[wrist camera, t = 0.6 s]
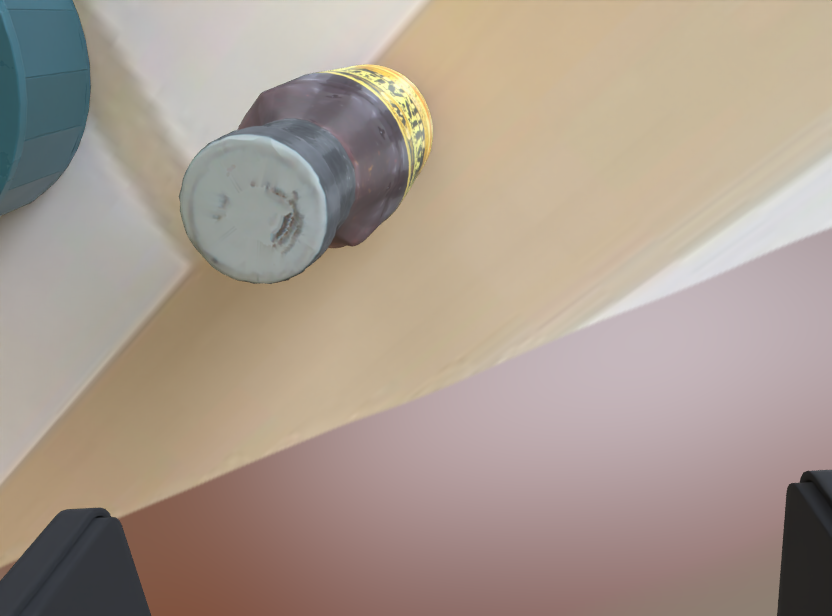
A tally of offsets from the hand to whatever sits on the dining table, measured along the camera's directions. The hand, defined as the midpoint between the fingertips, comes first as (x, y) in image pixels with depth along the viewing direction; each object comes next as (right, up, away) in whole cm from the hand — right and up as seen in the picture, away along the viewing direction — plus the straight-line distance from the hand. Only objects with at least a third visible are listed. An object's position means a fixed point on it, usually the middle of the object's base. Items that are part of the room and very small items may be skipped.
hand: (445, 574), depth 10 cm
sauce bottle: (-3, +13, +27) cm, 30 cm away
